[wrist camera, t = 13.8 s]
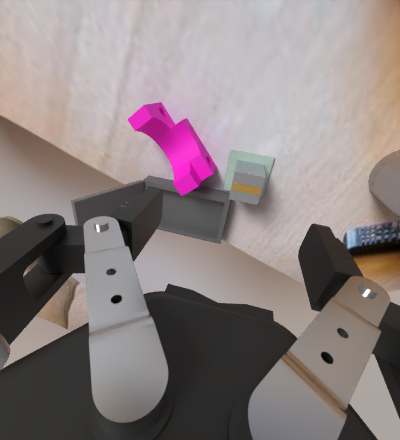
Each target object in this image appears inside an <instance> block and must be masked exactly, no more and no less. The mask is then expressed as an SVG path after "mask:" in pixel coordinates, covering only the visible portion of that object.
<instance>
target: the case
mask: <svg viewBox="0 0 400 440" xmlns="http://www.w3.org/2000/svg"><path fill="white" fill-rule="evenodd" d="M173 182H174V181H172V180H167V179H162V178H158V177H153V176H148V177H147V178H145V179H144V180H143V181H142V180H140V181H136V182H133V183H129V184H126V185H123V186H119V187H116V188H112V189H109V190H106V191H102V192H99V193H95V194H92V195H88V196H85V197H82V198H78V199H75V200H72V201H71V202H72V207H73V213H74V218H75V223H76V226H84V224H85V222H87V221H88V220H90V219H92V218H95V217H100V216H107V217H108V216H109V215H110V214H111V213H112V212H113V211H114V210H116V209H117V208H118V207H119V206H121V204H122V203H124V202H125V201H126V200H127V199H128V198H129V197H131V196H134V195H136V194H142V193H143V192H144V191H145V190H146V189H147V188H149V187H150V188H154V189H159V190H162V191H163V206H162V218H161V222H160V224H159V226H158V227H157V229H160V230H164V231H168V232H173V233H177V234H181V235H185V236H189V237H193V238H198V239H202V240H206V241H210V242H215V243H219V244H220V243H221V239H222V235H223V230H224V226H225V222H226V217H227V213H228V209H229V205H230V199H229V195H230V193H228V192H224V191H219V190H214V189H210V188H205V187H200V186H198V187H197V188H195V189H193V190H192V191H190V192H188V193H186V194H184V195H183V196H181V195H180V193H179V192H178V190H177V189H176V188H175V186H174V185H173Z"/></svg>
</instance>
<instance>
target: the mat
mask: <svg viewBox="0 0 400 440" xmlns="http://www.w3.org/2000/svg"><path fill="white" fill-rule="evenodd" d="M237 160H241V161H247V162H252V163H258V164H263V165H264V167H265V175H266V179H265V182H264V185H263V189H262V192H261V196H260V198H262V197H263V193H264V190H265V187H266V184H267V181H268V177H269V174H270V171H271V168H272V165H273V162H274V158H272V157H266V156H261V155H256V154H251V153H246V152H240V151H235V150H231V152H230V157H229V161H228V166H227V171H226V176H225V181H224V186H223V190H226V191H230V190H231V186H232V181H233V176H234V172H235V168H236V163H237Z"/></svg>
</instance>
